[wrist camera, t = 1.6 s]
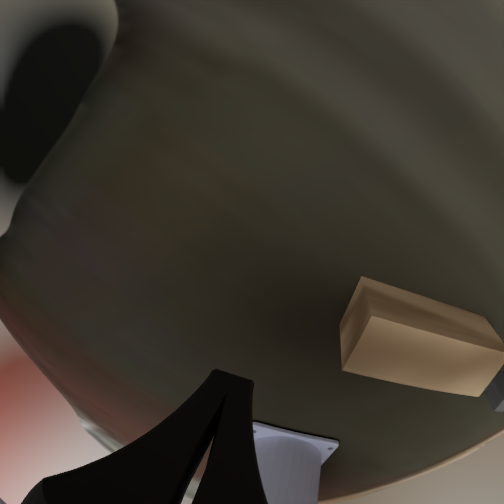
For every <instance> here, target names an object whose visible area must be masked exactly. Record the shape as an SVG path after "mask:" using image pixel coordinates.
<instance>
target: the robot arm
mask: <svg viewBox="0 0 504 504" xmlns="http://www.w3.org/2000/svg"><path fill="white" fill-rule="evenodd" d="M253 388H254V383H253V381H252V380H249V379H246V378H243V377H239V376H236V375H233V374H230V373H227V372H224V371H221V370H218V369H215V370H212V372H211V373H210V375H209V376H208V377H207V379H206V380H205V381H204V382H203V384H202V385H201V386H200V387H199V388H198V389H197V390H196V391H195V392H194V393H193V394H192V396H190V397H189V398H188V399H187V400H186V401H185V402H184V403H183V404H182V405H181V406H180V407H179V408H178V409H177V410H176V411H174V412H173V413H172V414H171V415H170V416H168V417H167V418H166V419H165V420H163V421H162V422H161V423H160V424H158V425H157V426H156V427H154V428H153V429H152V430H150V431H149V432H147V433H146V434H144V435H143V436H141V437H140V438H138V439H137V440H135V441H133V442H132V443H130V444H128V445H126V446H125V447H123V448H121V449H119V450H117V451H116V452H114V453H112V454H110V455H108V456H106V457H103V458H101V459H99V460H96V461H94V462H92V463H89V464H87V465H84V466H82V467H79V468H77V469H74V470H71V471H67V472H64V473H60V474H57V475H53V476H50V477H46V478H43V479H42V480H41V481H40V482H39V483H38V484H37V485H35V486H34V487H33V488H32V489H31V491H30V492H29V493H28V495H27V496H26V497H25V499H24V500H23V502H22V503H21V504H181V502H182V499H183V497H184V494H185V492H186V490H187V488H188V485H189V483H190V481H191V479H192V477H193V476H194V474H195V472H196V470H197V468H198V466H199V464H200V462H201V460H202V458H203V456H204V454H205V452H206V450H207V448H208V446H209V444H210V443H211V441H212V439H213V437H214V439H213V442H212V446H211V450H210V454H209V458H208V462H207V465H206V469H205V472H204V474H203V477H202V479H201V482H200V484H199V487H198V489H197V492H196V494H195V497H194V499H193V501H192V504H317V500H318V491H319V481H320V470H321V465H322V464H323V463H324V462H325V461H326V460H327V459H328V458H329V456H330V455H331V454H332V453H333V452H334V451H335V450H336V448H337V447H338V446H339V442H338V441H337V440H332V439H327V438H321V437H316V436H312V435H307V434H302V433H298V432H293V431H289V430H285V429H281V428H277V427H273V426H269V425H265V424H262V423H258V422H253V421H252V397H253ZM214 434H215V435H214ZM0 504H6V503H5V502H4V501H3V500H2V499H1V498H0Z"/></svg>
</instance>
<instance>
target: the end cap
mask: <svg viewBox="0 0 504 504" xmlns="http://www.w3.org/2000/svg"><path fill="white" fill-rule="evenodd" d="M485 392H486V394H487V396H488V399H489V401H490V403H491V405H492V408H493V410H494V411H504V373H502V372H497V374H496V375H495V377H494V378H493V379H492V381H491V382H490V383H489V384H488V386H487V387H486V388H485Z"/></svg>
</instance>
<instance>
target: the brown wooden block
mask: <svg viewBox="0 0 504 504" xmlns="http://www.w3.org/2000/svg"><path fill="white" fill-rule="evenodd" d="M339 326H340V341H341V359H342V370H343V371H347V372H351V373H355V374H359V375H364V376H368V377H372V378H377V379H381V380H386V381H390V382H395V383H400V384H405V385H410V386H415V387H420V388H425V389H431V390H436V391H442V392H448V393H455V394H461V395H468V396H475V397H479V396H480V395H481V393H482V392H483V391H484V390H485V388H486V387H487V386H488V384H489V383H490V382H491V381H492V379H493V378H494V377H495V375H496V374H497V372H498V371H499V370H500V368H501V367H502V366H503V364H504V343H503V342H502V341H501V339H500V338H499V336H498V335H497V333H496V332H495V331H494V329H493V328H492V326H491V325H490V324H489V322H488V321H487V320H486V318H485V317H484V316H481V315H478V314H475V313H472V312H469V311H466V310H463V309H460V308H457V307H454V306H451V305H448V304H445V303H442V302H439V301H436V300H433V299H430V298H427V297H424V296H421V295H418V294H415V293H412V292H409V291H406V290H402V289H399V288H396V287H393V286H390V285H387V284H384V283H381V282H378V281H375V280H372V279H369V278H366V277H362V276H361V278H360V280H359V283H358V285H357V287H356V289H355V292H354V294H353V296H352V298H351V301H350V303H349V305H348V307H347V309H346V312H345V314H344V316H343V318H342V320H341V322H340V324H339Z"/></svg>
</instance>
